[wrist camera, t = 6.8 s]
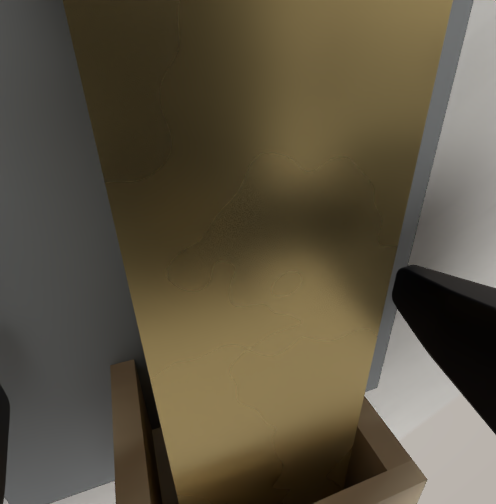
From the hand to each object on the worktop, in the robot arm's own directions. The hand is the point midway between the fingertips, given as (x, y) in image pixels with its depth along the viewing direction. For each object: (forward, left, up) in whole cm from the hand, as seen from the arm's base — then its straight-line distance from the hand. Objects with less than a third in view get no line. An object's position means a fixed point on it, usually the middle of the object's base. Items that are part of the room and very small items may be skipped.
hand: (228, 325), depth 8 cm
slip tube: (0, -2, -1) cm, 2 cm away
